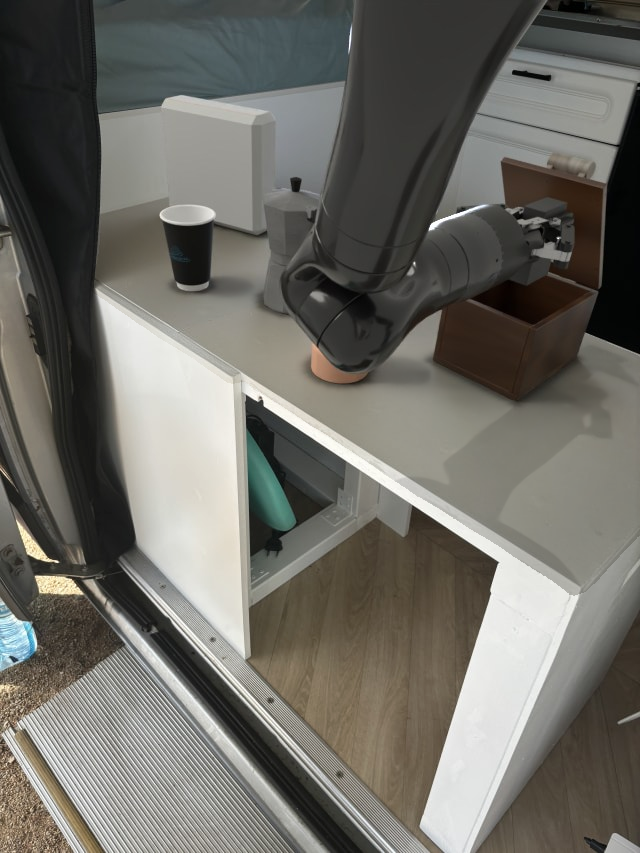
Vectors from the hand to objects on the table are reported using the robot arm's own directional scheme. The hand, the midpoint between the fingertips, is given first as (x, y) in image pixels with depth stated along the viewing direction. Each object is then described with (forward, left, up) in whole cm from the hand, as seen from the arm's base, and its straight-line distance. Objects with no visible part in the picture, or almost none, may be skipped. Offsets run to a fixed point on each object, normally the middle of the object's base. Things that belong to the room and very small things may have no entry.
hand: (554, 217), depth 70 cm
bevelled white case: (+65, -19, -21) cm, 71 cm away
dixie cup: (+50, +5, -21) cm, 54 cm away
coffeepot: (+34, 0, -21) cm, 40 cm away
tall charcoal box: (0, +3, -6) cm, 7 cm away
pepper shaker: (+19, +11, -21) cm, 30 cm away
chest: (+3, -5, -21) cm, 22 cm away
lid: (+2, -8, -4) cm, 9 cm away
